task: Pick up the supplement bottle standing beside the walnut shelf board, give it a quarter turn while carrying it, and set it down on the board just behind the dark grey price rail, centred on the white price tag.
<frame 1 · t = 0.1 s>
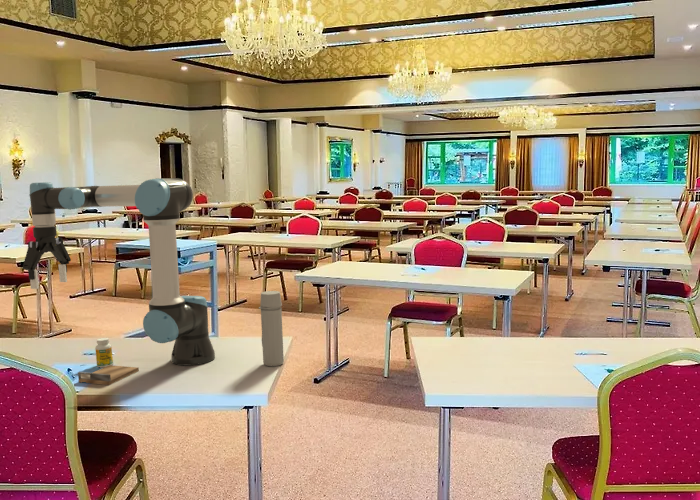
hand: (49, 285, 234), 28 cm above the table, fingers open, 13 cm apart
shelf: (109, 376, 217), on the table
supplement bottle: (105, 366, 230), on the table
water bottle: (271, 364, 226), on the table
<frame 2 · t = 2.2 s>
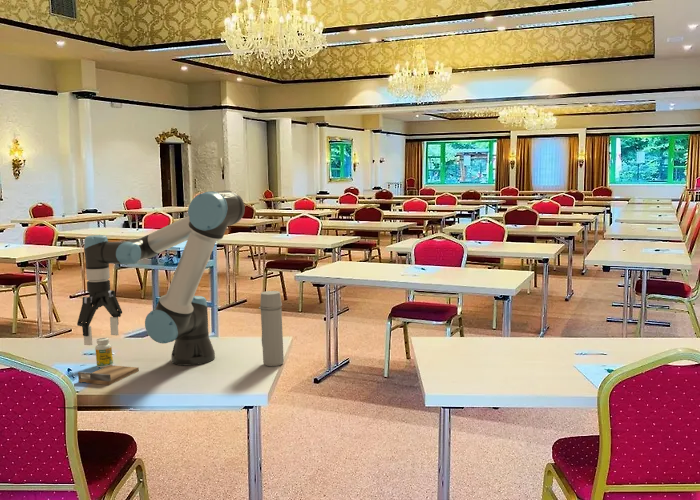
hand: (101, 340, 229), 9 cm above the table, fingers open, 13 cm apart
nothing on the table moved.
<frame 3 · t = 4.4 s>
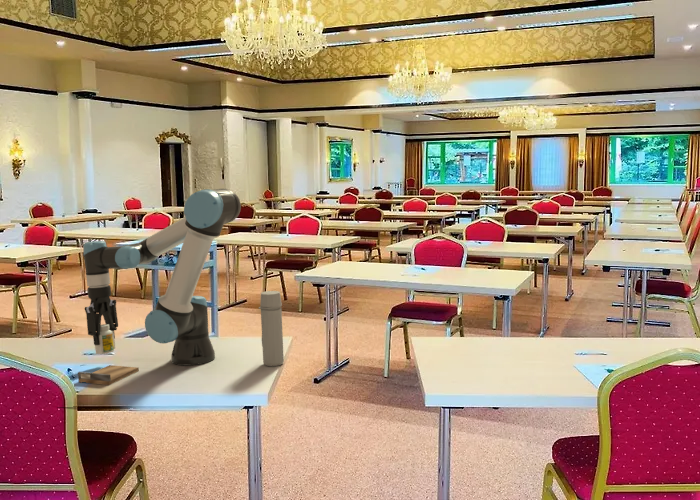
hand: (105, 351, 229), 5 cm above the table, fingers closed on supplement bottle, 5 cm apart
supplement bottle: (106, 352, 229), point 5 cm above the table, touching gripper
everything else where it was.
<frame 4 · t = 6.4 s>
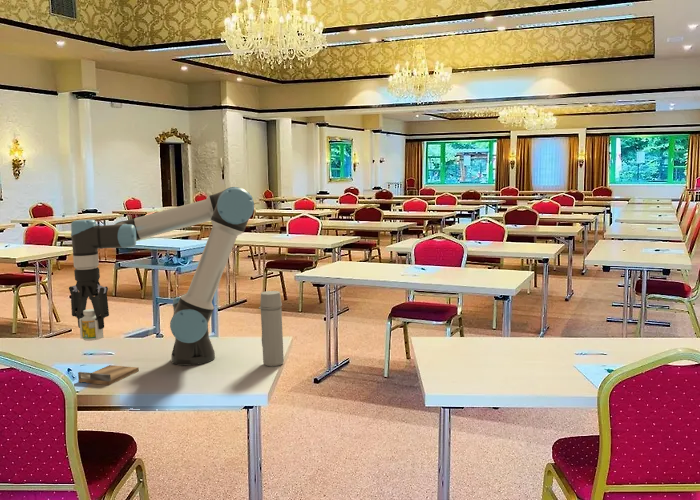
hand: (92, 337, 213), 14 cm above the table, fingers closed on supplement bottle, 5 cm apart
supplement bottle: (91, 339, 213), point 13 cm above the table, touching gripper
everything else where it was.
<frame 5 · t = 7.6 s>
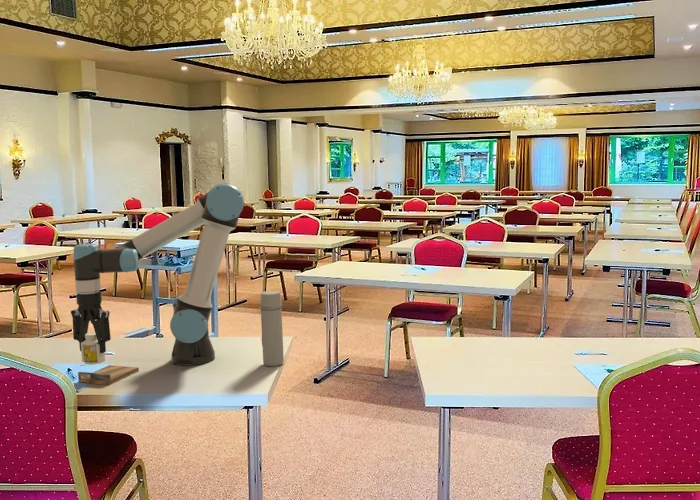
hand: (93, 361, 214), 6 cm above the table, fingers closed on supplement bottle, 5 cm apart
supplement bottle: (93, 363, 214), point 5 cm above the table, touching gripper
everything else where it was.
when the fingers open (3 cm above the table, at t = 8.6 s): supplement bottle drops 1 cm, resting on shelf.
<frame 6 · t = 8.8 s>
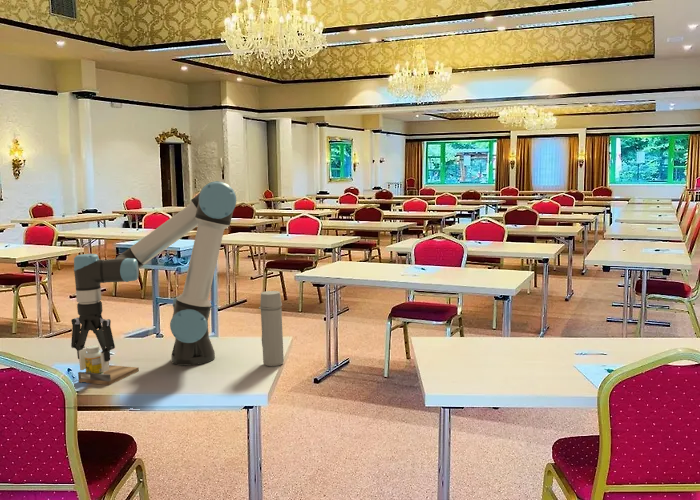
hand: (94, 369, 215), 3 cm above the table, fingers open, 8 cm apart
supplement bottle: (95, 375, 215), point 1 cm above the table, touching shelf
everything else where it was.
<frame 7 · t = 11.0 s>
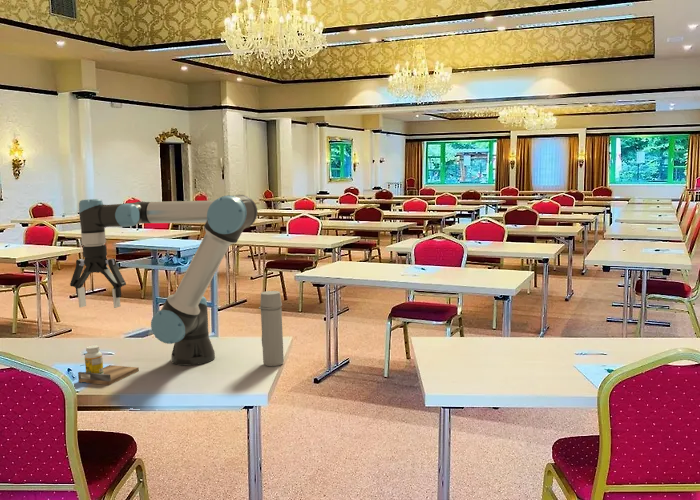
hand: (99, 306, 223), 22 cm above the table, fingers open, 13 cm apart
nothing on the table moved.
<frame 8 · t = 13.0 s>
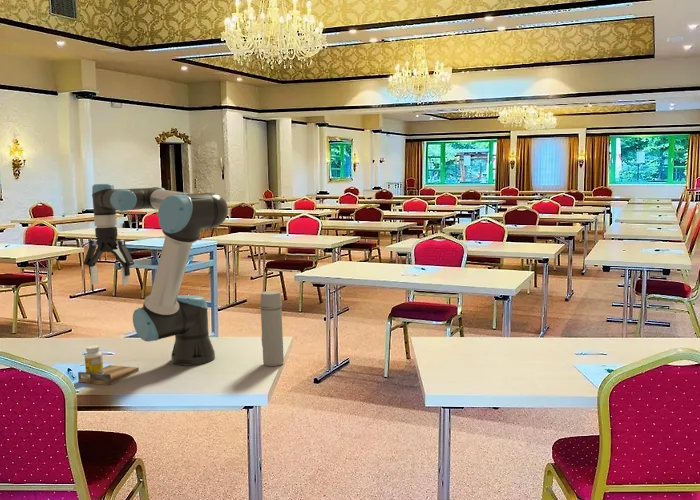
hand: (110, 284, 239), 27 cm above the table, fingers open, 13 cm apart
nothing on the table moved.
at the end: supplement bottle 0.2 cm from the target spot on the shelf, point 1.0 cm above the shelf's base; supplement bottle tilted 0°; the gripper is holding nothing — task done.
